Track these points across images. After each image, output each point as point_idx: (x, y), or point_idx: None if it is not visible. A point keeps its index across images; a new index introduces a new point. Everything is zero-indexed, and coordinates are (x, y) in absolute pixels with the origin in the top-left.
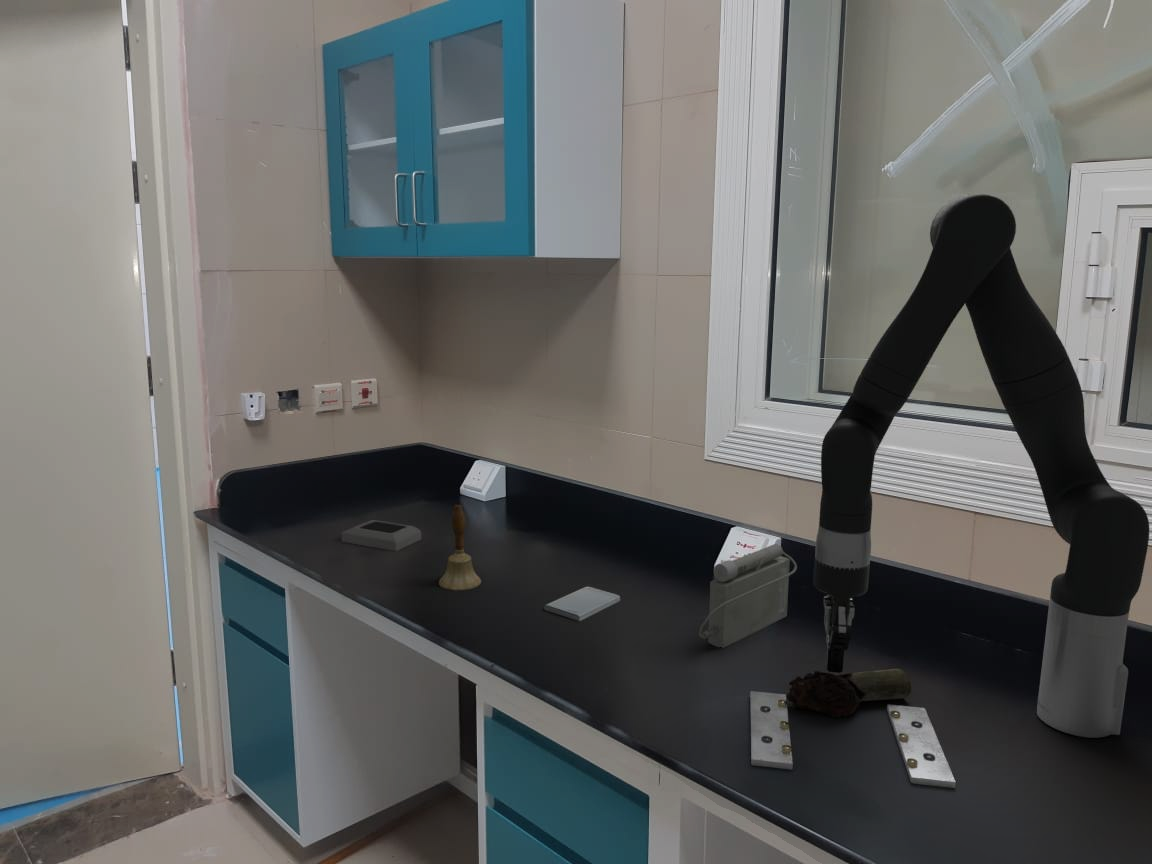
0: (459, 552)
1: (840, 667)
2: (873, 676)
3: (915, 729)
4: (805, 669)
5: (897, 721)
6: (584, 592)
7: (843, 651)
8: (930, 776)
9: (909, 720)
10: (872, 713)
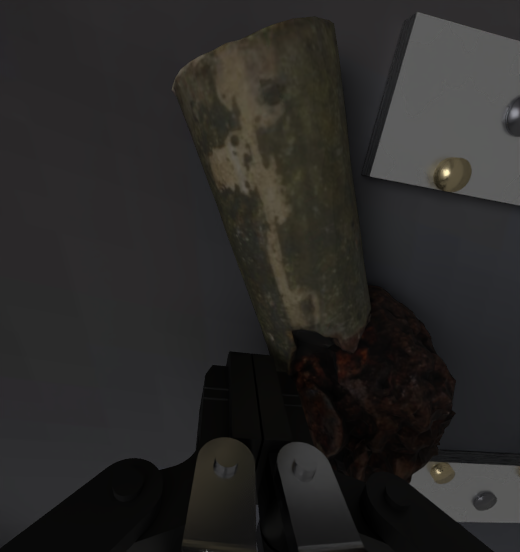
0: None
1: (294, 384)
2: (333, 239)
3: None
4: (77, 370)
5: (487, 182)
6: None
7: (287, 431)
8: None
9: (491, 132)
10: (378, 233)
